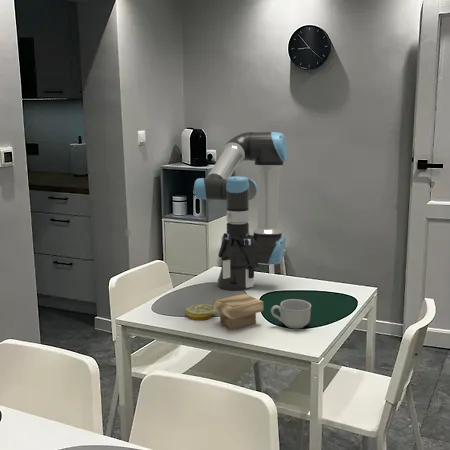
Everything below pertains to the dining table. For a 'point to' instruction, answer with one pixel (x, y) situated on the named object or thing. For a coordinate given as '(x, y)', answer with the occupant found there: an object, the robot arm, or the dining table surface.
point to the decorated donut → (200, 311)
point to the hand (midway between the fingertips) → (237, 282)
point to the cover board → (237, 306)
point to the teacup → (293, 313)
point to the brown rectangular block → (237, 321)
